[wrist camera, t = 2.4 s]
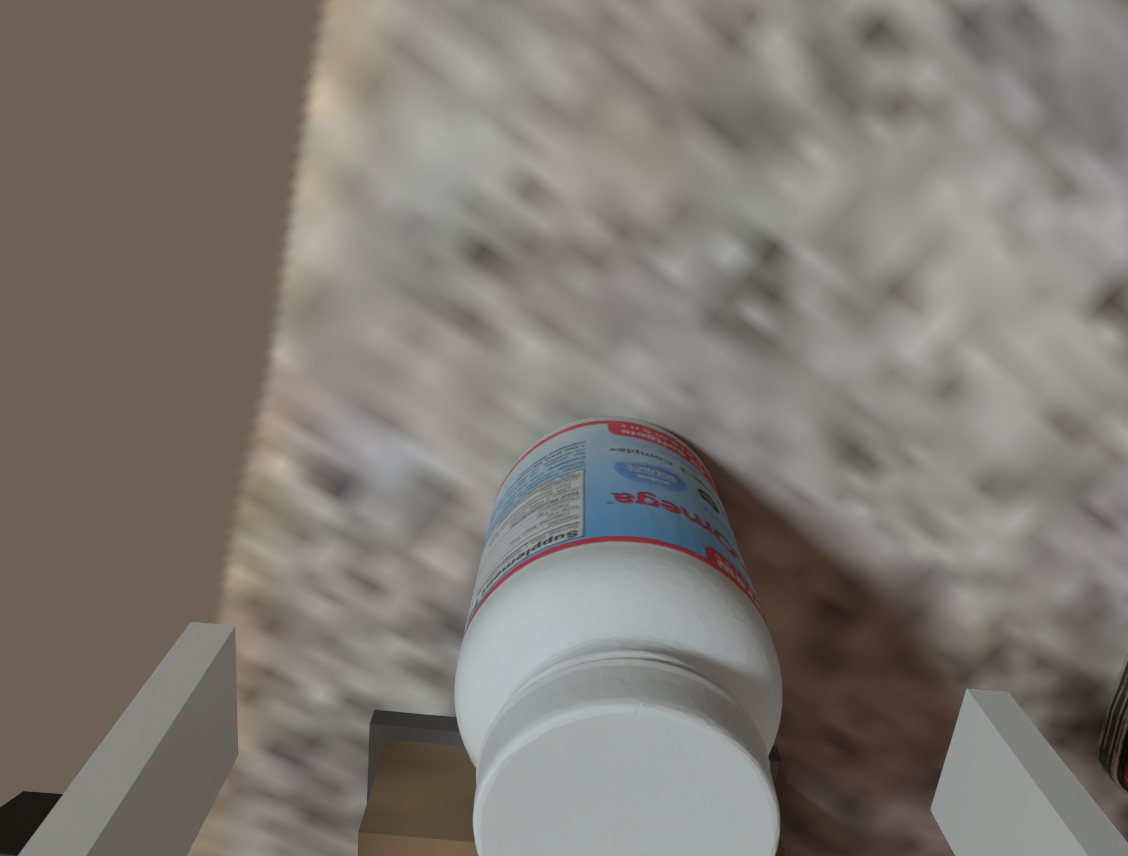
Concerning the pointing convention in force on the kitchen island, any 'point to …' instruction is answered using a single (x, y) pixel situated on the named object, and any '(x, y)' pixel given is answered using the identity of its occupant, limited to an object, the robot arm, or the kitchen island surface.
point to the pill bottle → (617, 658)
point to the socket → (427, 788)
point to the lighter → (1116, 733)
